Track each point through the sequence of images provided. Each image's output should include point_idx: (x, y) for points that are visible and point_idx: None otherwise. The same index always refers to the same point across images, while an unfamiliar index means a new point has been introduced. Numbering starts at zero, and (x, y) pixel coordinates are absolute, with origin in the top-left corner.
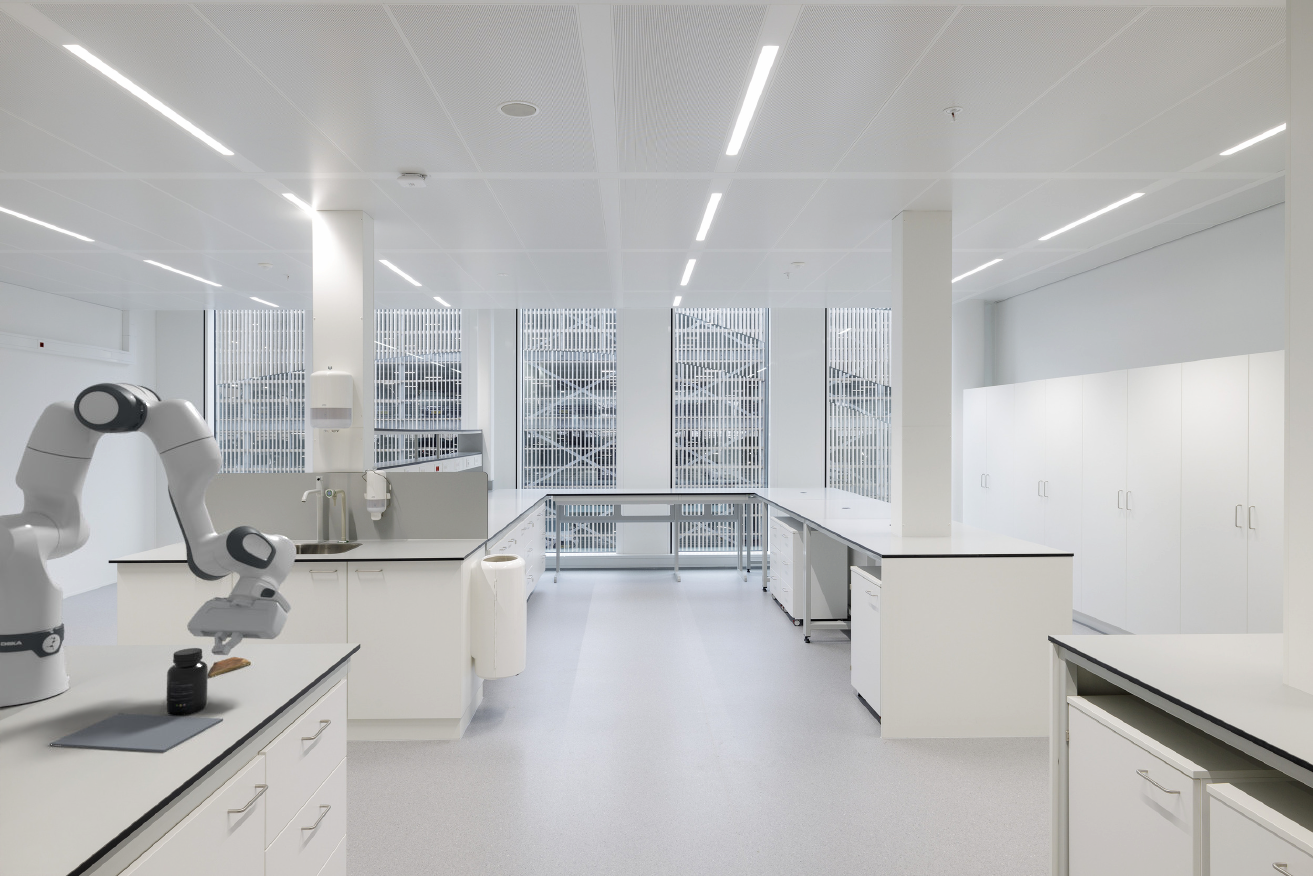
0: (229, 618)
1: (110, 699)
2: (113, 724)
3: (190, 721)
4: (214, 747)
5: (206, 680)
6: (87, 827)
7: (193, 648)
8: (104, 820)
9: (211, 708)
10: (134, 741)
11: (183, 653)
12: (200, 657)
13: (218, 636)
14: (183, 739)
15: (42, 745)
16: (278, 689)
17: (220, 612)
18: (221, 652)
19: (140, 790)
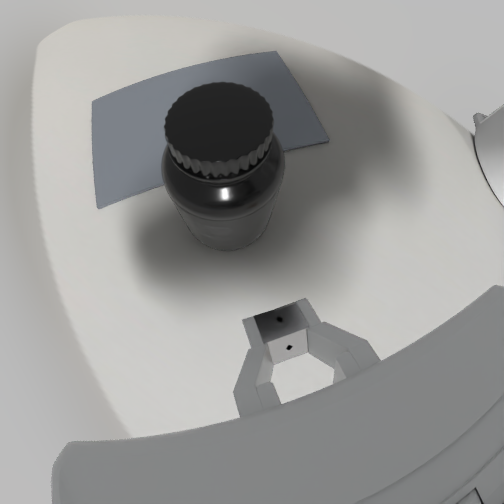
0: (385, 451)
1: (429, 193)
2: (273, 105)
3: (144, 167)
4: (44, 146)
5: (179, 212)
6: (58, 44)
7: (238, 147)
8: (53, 51)
9: (184, 244)
10: (160, 89)
11: (207, 97)
12: (174, 157)
13: (350, 354)
14: (92, 127)
15: (286, 52)
16: (159, 406)
17: (486, 430)
18: (255, 316)
19: (56, 71)
